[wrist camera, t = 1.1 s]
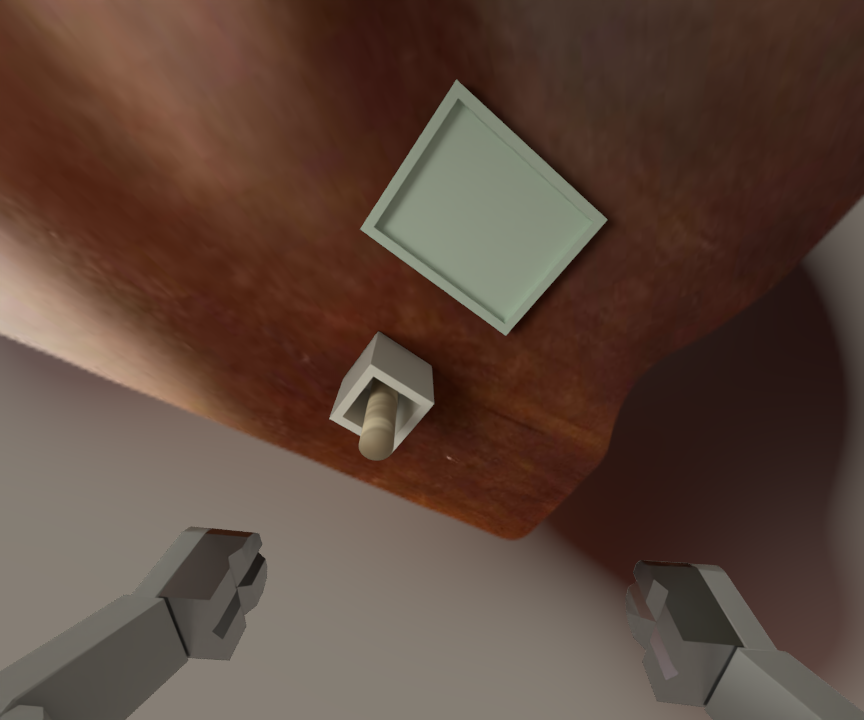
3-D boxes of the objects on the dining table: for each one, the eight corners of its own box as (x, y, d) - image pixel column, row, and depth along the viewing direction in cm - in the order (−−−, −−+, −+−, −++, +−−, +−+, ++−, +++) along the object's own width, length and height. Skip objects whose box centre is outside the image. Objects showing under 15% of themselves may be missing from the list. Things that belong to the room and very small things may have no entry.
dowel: (368, 378, 50) (352, 449, 37) (383, 359, 49) (371, 426, 36) (390, 391, 51) (381, 465, 38) (404, 373, 50) (400, 443, 37)
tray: (362, 226, 43) (360, 229, 41) (454, 83, 38) (456, 79, 36) (502, 329, 49) (505, 335, 47) (599, 217, 43) (607, 219, 41)
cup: (343, 378, 51) (329, 418, 43) (378, 330, 48) (370, 364, 40) (395, 409, 53) (391, 453, 45) (431, 365, 50) (434, 403, 42)
